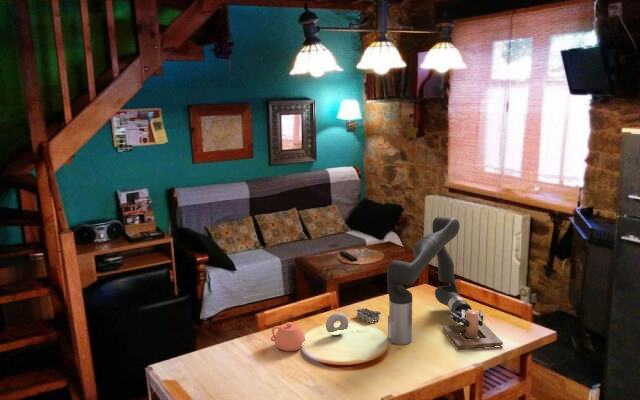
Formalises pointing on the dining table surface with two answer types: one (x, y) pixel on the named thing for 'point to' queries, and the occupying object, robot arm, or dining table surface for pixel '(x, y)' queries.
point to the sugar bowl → (288, 337)
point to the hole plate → (463, 344)
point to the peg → (472, 323)
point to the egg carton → (364, 314)
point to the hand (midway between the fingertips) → (474, 324)
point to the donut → (333, 319)
